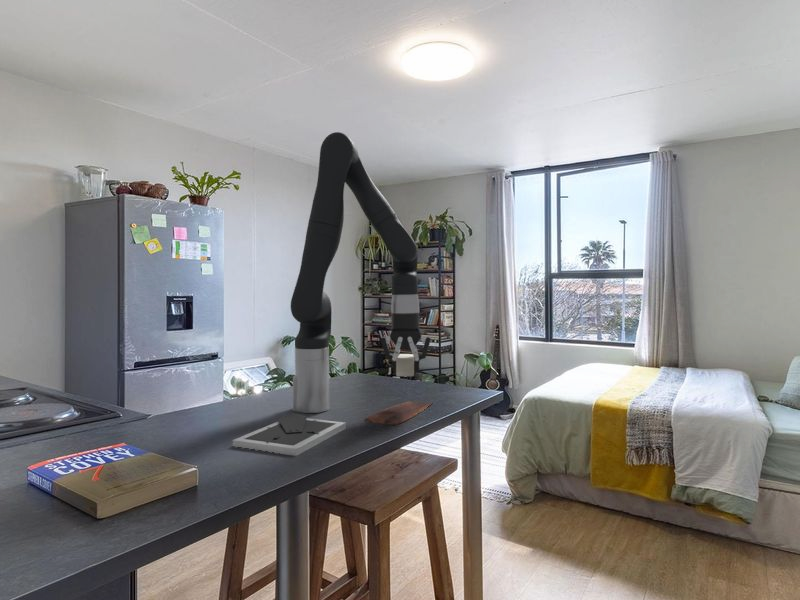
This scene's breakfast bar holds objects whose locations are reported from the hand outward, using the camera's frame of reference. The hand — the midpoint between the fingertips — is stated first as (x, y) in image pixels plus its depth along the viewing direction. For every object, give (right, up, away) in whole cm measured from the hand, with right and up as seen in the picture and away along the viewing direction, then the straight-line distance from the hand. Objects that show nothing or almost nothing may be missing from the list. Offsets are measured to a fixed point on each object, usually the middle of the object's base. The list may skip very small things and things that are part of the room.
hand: (406, 374), depth 132 cm
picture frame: (-26, -12, -23) cm, 36 cm away
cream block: (+1, +2, +6) cm, 7 cm away
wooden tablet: (-1, -11, 0) cm, 11 cm away
